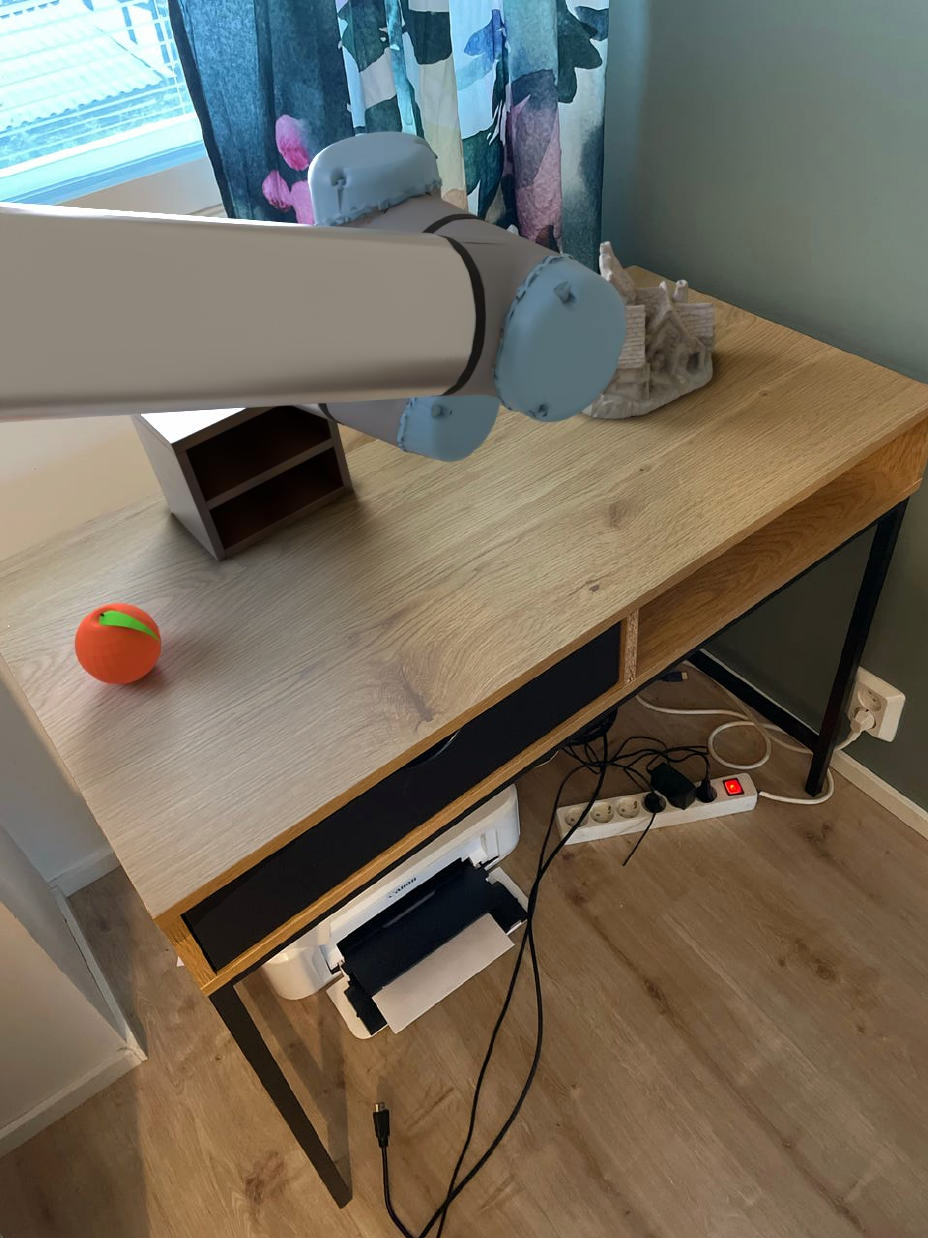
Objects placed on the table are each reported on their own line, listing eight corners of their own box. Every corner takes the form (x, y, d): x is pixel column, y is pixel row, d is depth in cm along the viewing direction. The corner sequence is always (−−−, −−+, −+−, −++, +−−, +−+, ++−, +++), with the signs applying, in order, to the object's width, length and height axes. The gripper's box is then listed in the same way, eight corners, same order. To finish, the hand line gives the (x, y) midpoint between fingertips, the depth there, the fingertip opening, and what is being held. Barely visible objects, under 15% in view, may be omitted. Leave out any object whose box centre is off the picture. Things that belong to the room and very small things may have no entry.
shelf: (218, 562, 88) (170, 443, 78) (171, 512, 94) (121, 396, 84) (353, 489, 94) (325, 370, 84) (300, 447, 100) (267, 332, 90)
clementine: (196, 646, 80) (169, 589, 75) (160, 707, 76) (129, 651, 70) (119, 637, 82) (87, 581, 77) (79, 695, 78) (42, 639, 72)
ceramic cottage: (557, 413, 99) (564, 281, 89) (587, 343, 110) (596, 218, 100) (700, 433, 96) (725, 297, 85) (716, 358, 107) (740, 230, 96)
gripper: (219, 473, 63) (39, 391, 74) (406, 339, 74) (224, 284, 85) (185, 380, 58) (-4, 306, 69) (391, 250, 68) (199, 203, 80)
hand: (122, 294), depth 77 cm, fingers closed on die, 8 cm apart
